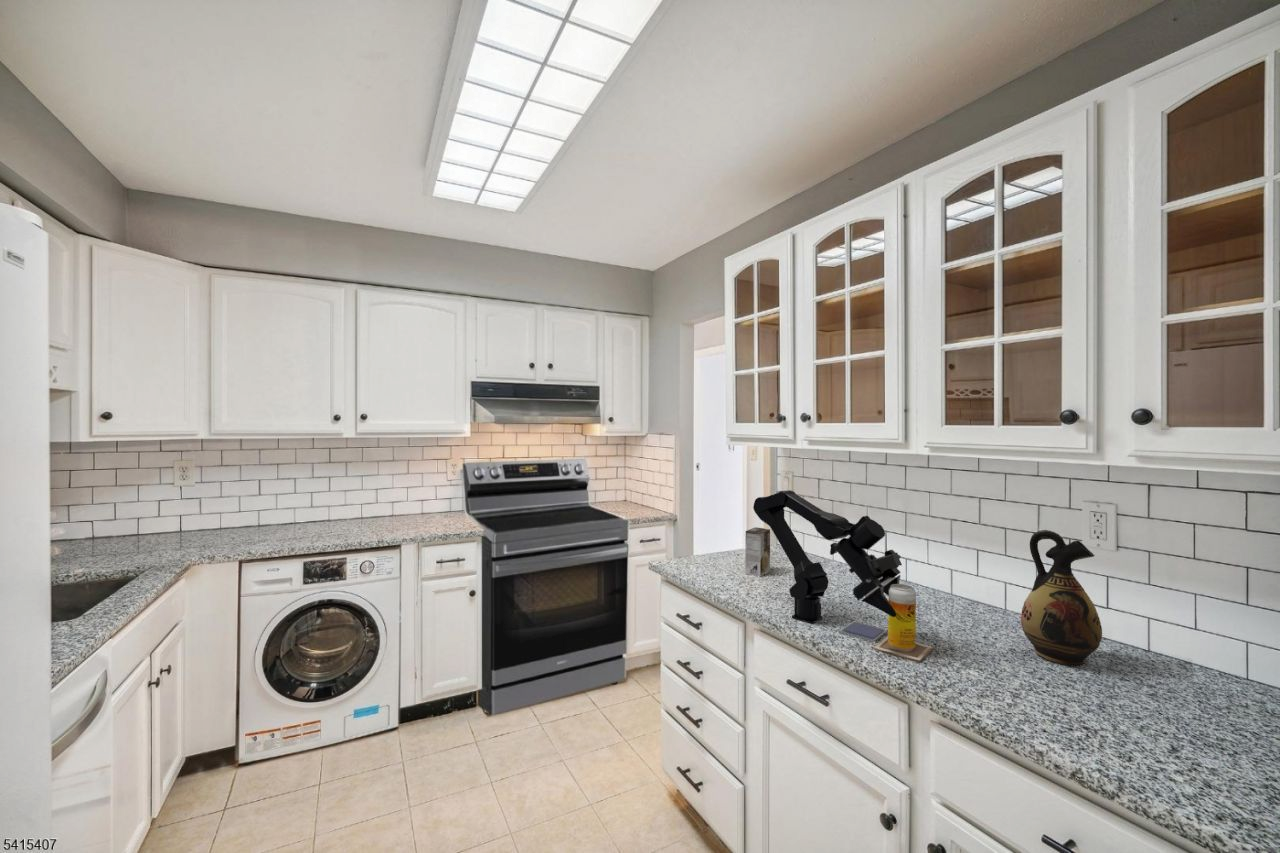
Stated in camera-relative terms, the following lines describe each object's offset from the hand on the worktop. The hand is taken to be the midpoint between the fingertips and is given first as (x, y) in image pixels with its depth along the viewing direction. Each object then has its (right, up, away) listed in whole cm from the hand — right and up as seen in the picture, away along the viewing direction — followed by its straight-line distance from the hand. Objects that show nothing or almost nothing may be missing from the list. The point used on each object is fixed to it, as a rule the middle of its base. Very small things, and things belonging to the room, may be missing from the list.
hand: (901, 611), depth 135 cm
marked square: (0, -9, 0) cm, 9 cm away
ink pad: (-5, -9, +10) cm, 14 cm away
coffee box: (-21, -9, +68) cm, 72 cm away
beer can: (0, -9, 0) cm, 9 cm away
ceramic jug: (+35, -10, -4) cm, 37 cm away
